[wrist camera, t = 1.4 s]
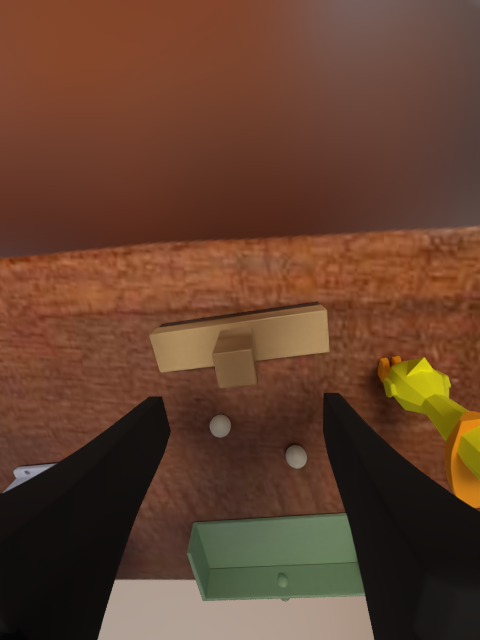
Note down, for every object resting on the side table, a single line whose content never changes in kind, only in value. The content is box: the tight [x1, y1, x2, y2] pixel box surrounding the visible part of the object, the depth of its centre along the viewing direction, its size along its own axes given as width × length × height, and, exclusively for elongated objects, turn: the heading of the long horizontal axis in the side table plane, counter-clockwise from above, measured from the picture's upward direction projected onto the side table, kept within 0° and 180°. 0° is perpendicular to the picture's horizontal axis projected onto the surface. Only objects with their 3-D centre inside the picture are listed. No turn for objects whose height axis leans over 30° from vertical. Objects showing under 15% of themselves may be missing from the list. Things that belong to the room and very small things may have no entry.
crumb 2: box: [286, 445, 307, 468], centre depth 22 cm, size 2×2×2 cm
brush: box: [149, 302, 329, 388], centre depth 17 cm, size 12×3×6 cm, turn 99°
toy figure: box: [378, 356, 480, 508], centre depth 15 cm, size 7×4×12 cm, turn 12°
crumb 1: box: [210, 415, 231, 438], centre depth 22 cm, size 2×2×2 cm
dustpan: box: [187, 513, 365, 601], centre depth 26 cm, size 10×17×3 cm, turn 99°
